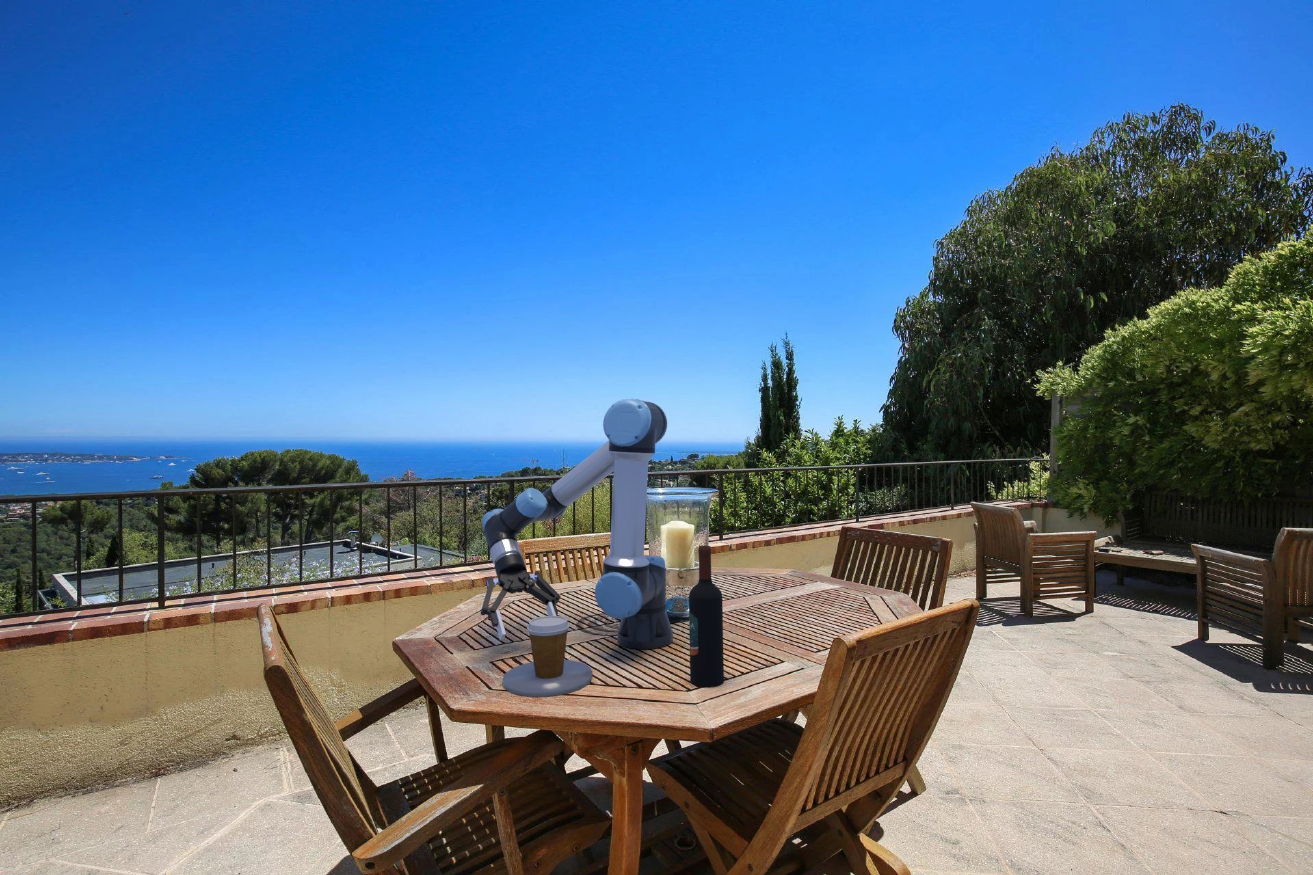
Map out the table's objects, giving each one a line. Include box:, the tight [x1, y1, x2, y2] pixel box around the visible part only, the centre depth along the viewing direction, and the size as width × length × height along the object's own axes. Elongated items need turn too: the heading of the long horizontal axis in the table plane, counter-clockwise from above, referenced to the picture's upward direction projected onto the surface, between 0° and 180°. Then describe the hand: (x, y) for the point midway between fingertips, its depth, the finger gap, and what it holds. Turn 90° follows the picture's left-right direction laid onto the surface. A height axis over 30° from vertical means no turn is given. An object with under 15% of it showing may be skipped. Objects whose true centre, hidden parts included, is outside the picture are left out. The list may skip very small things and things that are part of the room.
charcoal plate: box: [502, 659, 593, 698], centre depth 142 cm, size 20×20×1 cm
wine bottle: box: [688, 545, 725, 688], centre depth 140 cm, size 8×8×30 cm
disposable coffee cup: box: [526, 615, 570, 678], centre depth 142 cm, size 10×10×12 cm
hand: (530, 632), depth 151 cm, fingers open, 13 cm apart
